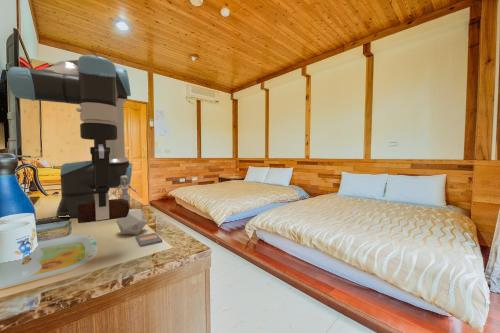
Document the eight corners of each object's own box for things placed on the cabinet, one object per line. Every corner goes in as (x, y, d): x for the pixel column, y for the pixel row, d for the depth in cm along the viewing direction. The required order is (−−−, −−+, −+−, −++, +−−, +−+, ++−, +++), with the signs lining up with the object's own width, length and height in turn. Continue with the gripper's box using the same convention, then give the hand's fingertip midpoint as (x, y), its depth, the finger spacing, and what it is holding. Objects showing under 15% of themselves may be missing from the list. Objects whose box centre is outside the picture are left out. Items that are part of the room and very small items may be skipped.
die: (125, 241, 68) (146, 214, 71) (105, 226, 69) (125, 200, 72) (138, 241, 76) (156, 217, 78) (119, 227, 77) (137, 204, 80)
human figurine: (107, 224, 83) (106, 176, 82) (107, 221, 86) (106, 175, 85) (142, 219, 89) (141, 175, 88) (141, 217, 92) (140, 174, 92)
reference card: (135, 238, 69) (135, 236, 69) (155, 234, 73) (155, 232, 73) (140, 246, 63) (140, 244, 63) (162, 242, 66) (162, 239, 66)
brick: (77, 224, 51) (77, 204, 51) (77, 220, 54) (77, 201, 54) (129, 217, 57) (129, 199, 57) (126, 214, 61) (126, 197, 60)
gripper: (80, 125, 59) (83, 211, 60) (78, 117, 45) (82, 229, 46) (113, 127, 63) (115, 207, 65) (121, 121, 49) (123, 223, 51)
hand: (102, 216), depth 55 cm, fingers closed on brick, 4 cm apart
